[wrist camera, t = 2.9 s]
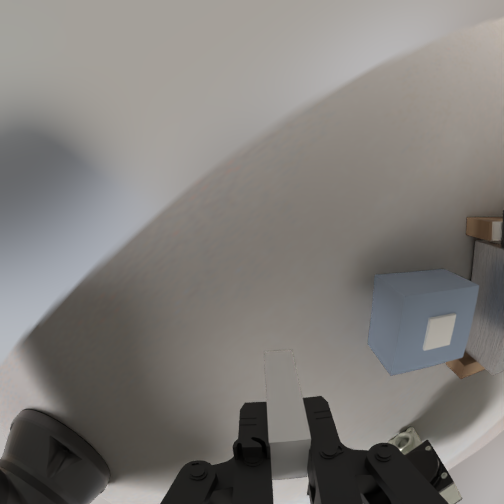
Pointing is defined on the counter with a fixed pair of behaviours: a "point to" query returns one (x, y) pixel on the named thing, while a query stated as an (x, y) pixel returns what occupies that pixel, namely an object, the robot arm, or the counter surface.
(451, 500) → the pneumatic valve
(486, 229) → the gauge frame
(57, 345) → the counter surface
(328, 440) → the robot arm
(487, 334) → the grey flat panel
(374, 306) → the blue block
